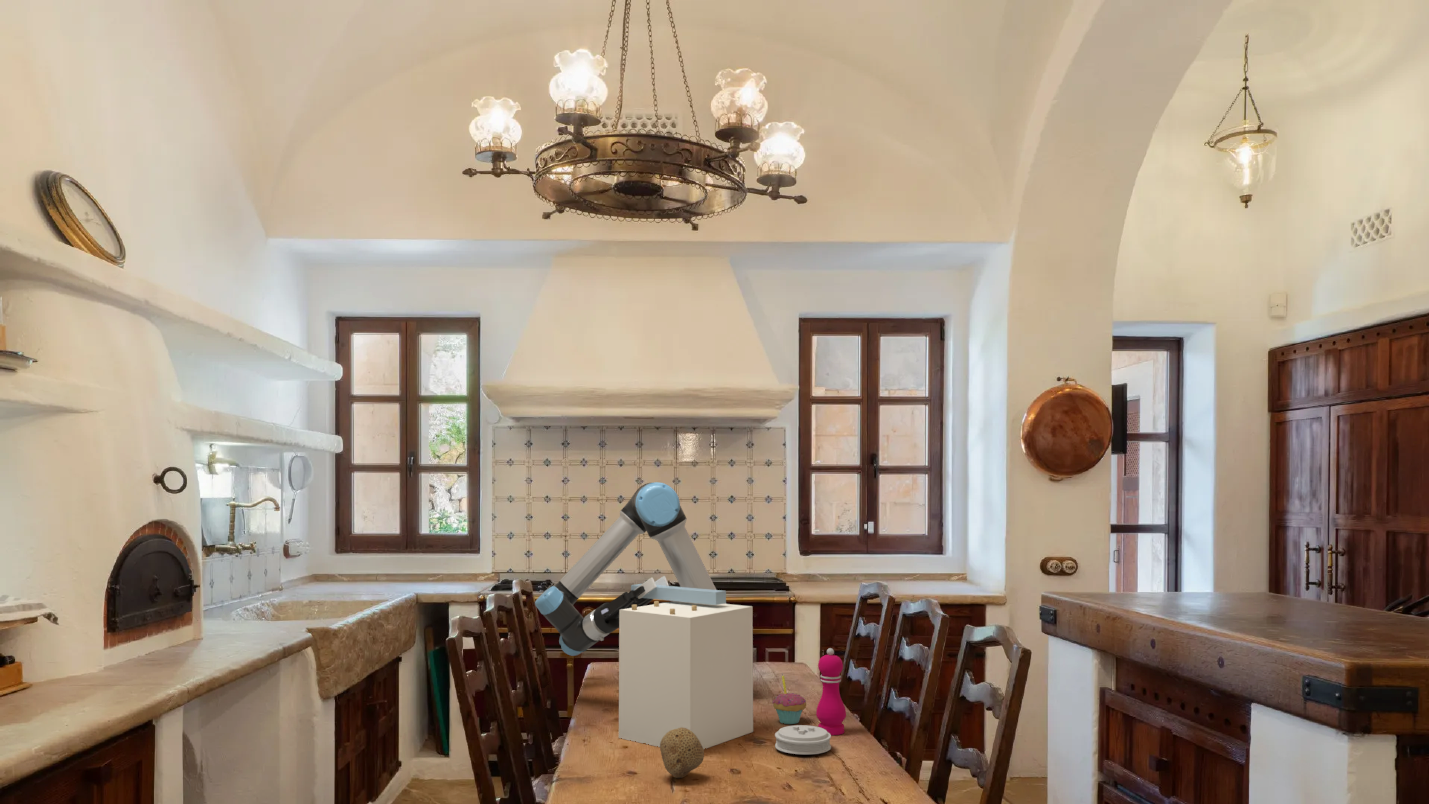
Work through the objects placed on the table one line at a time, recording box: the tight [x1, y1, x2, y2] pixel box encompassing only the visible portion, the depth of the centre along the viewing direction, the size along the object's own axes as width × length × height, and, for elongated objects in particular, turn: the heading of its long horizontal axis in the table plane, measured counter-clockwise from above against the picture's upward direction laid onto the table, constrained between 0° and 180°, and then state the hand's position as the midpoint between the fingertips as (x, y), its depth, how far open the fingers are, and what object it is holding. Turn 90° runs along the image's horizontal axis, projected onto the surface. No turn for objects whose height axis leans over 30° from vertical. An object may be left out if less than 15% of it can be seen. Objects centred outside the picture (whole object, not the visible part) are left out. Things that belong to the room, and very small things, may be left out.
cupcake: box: [771, 672, 807, 725], centre depth 244 cm, size 9×8×12 cm
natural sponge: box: [659, 727, 705, 779], centre depth 199 cm, size 9×9×10 cm
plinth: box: [618, 600, 754, 750], centre depth 233 cm, size 22×24×31 cm
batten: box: [630, 583, 727, 605], centre depth 244 cm, size 28×4×3 cm, turn 52°
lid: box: [774, 724, 832, 755], centre depth 219 cm, size 13×13×5 cm
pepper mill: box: [815, 647, 847, 736], centre depth 235 cm, size 7×7×20 cm
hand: (659, 581), depth 248 cm, fingers closed on batten, 4 cm apart
